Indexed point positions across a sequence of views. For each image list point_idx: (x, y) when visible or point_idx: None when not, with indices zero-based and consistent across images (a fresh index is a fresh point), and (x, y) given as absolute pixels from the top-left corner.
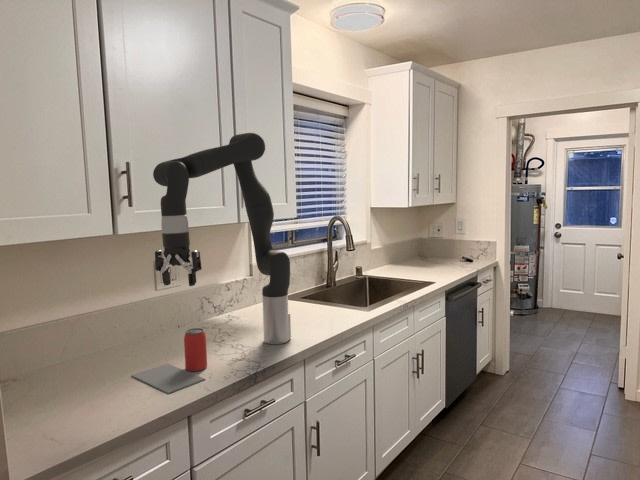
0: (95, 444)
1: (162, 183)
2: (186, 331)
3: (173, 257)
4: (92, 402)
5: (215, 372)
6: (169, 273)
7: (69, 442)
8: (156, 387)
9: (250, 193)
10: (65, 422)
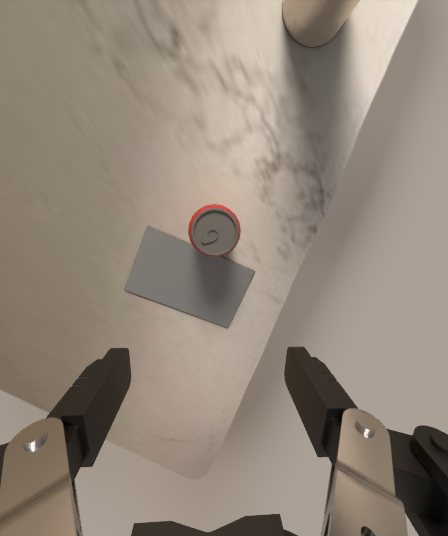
0: (224, 434)
1: None
2: (196, 241)
3: None
4: (142, 372)
5: (256, 238)
6: (91, 408)
7: (195, 439)
8: (198, 316)
9: None
10: (155, 415)
